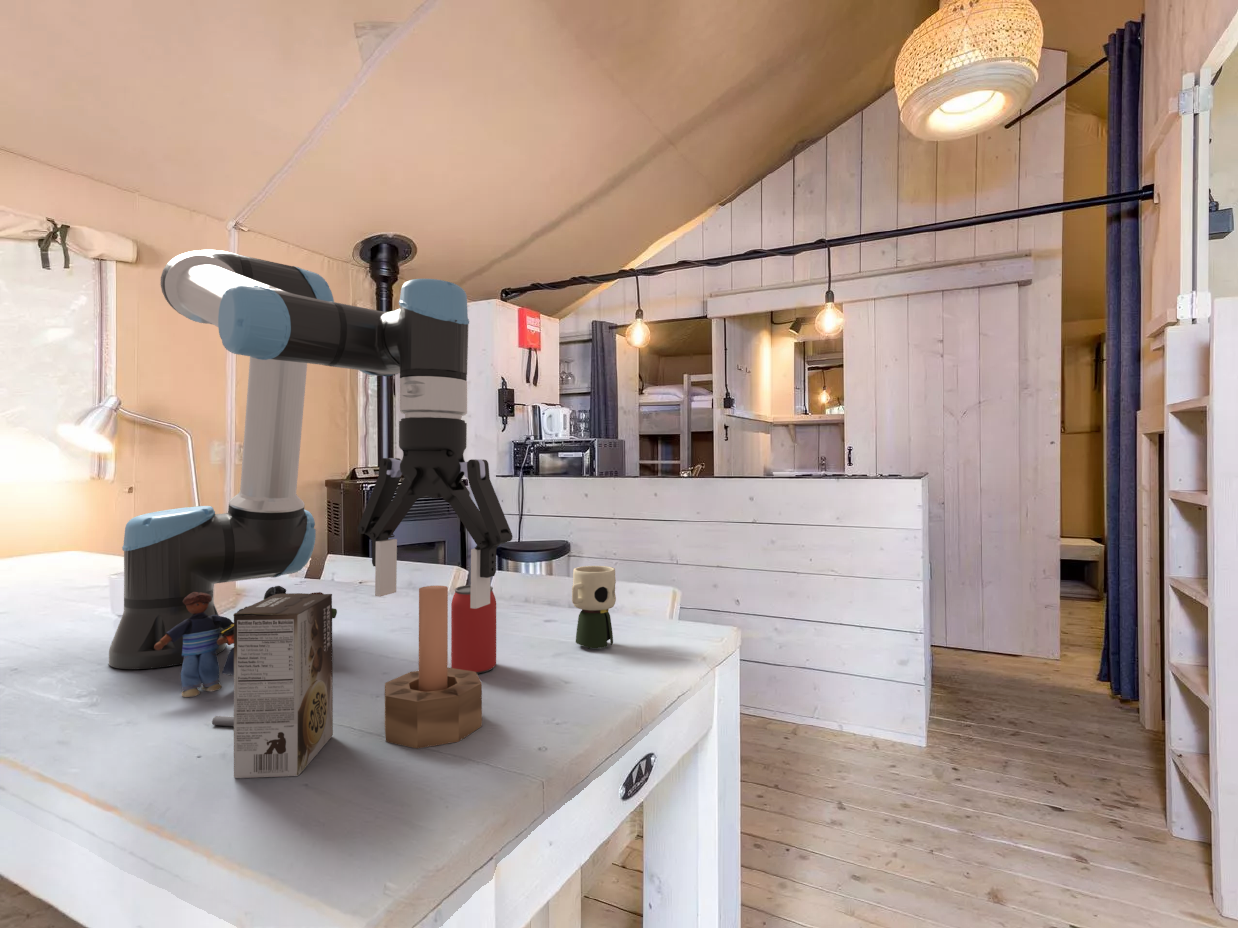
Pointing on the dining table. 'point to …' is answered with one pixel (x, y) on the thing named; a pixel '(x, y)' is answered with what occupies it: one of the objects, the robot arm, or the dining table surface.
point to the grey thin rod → (223, 721)
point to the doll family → (205, 643)
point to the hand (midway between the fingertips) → (431, 600)
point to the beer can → (472, 633)
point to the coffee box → (282, 684)
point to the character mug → (594, 604)
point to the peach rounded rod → (433, 638)
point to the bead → (432, 710)
